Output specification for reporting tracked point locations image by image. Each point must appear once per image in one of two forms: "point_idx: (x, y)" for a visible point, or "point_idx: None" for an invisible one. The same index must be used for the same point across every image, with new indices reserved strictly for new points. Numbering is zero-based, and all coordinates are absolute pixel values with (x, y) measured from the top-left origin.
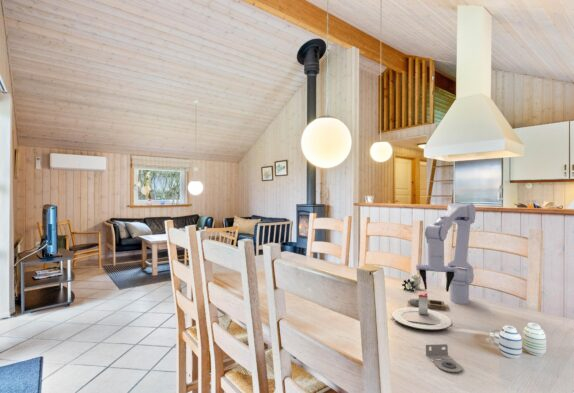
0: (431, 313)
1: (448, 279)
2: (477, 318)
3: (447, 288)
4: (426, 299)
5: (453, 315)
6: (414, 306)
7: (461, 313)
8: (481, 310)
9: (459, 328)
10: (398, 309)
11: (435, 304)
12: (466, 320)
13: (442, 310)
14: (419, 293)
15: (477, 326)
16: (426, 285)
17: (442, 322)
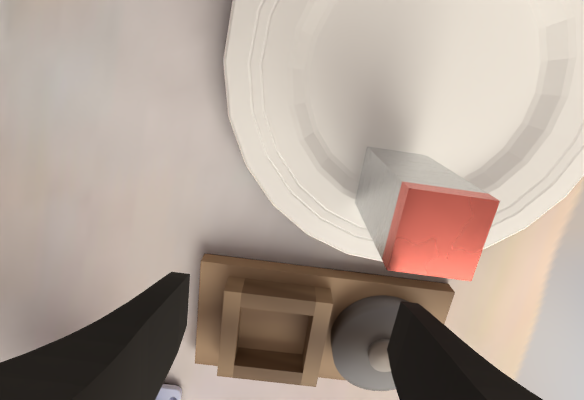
0: (331, 184)
1: (82, 362)
2: (56, 217)
3: (166, 285)
4: (406, 178)
5: (189, 233)
6: (409, 297)
7: (138, 275)
8: (24, 343)
9: (186, 6)
10: (548, 203)
11: (281, 308)
12: (123, 167)
13: (245, 266)
14: (472, 249)
15: (68, 77)
16: (424, 325)
17: (293, 13)
